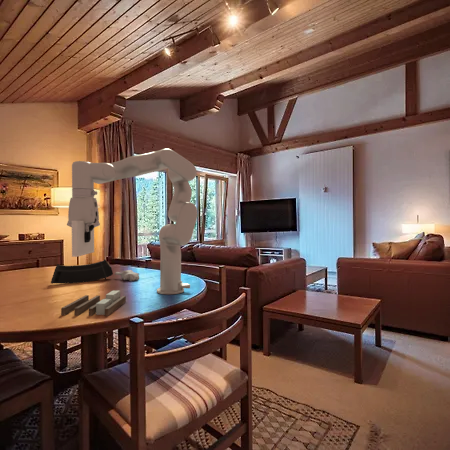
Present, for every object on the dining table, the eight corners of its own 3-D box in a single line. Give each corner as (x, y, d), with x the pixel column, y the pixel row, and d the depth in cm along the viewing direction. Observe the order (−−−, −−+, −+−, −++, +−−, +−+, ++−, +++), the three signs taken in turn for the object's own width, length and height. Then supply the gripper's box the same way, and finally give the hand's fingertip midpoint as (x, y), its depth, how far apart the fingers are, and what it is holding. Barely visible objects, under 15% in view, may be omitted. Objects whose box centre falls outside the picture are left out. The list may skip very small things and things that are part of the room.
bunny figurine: (129, 275, 160) (113, 268, 169) (128, 284, 160) (112, 277, 169) (143, 272, 167) (127, 267, 176) (143, 281, 168) (126, 275, 177)
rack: (125, 302, 121) (125, 295, 121) (108, 316, 103) (108, 308, 103) (85, 301, 122) (85, 295, 121) (61, 315, 103) (61, 308, 103)
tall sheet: (94, 252, 122) (93, 220, 122) (77, 256, 108) (77, 220, 108) (89, 252, 122) (89, 220, 122) (72, 256, 108) (71, 220, 108)
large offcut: (120, 302, 120) (120, 290, 120) (113, 308, 113) (113, 294, 113) (112, 302, 120) (112, 290, 120) (105, 307, 113) (105, 294, 113)
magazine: (46, 268, 147) (105, 248, 166) (45, 267, 150) (103, 247, 169) (57, 300, 151) (114, 276, 170) (55, 298, 153) (112, 275, 172)
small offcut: (110, 309, 111) (111, 299, 111) (104, 315, 105) (104, 303, 105) (102, 309, 111) (102, 299, 111) (96, 314, 105) (96, 303, 105)
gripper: (107, 195, 119) (108, 241, 119) (67, 195, 119) (68, 241, 119) (99, 193, 111) (100, 243, 112) (56, 193, 111) (57, 243, 112)
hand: (83, 241), depth 115 cm, fingers closed on tall sheet, 2 cm apart
